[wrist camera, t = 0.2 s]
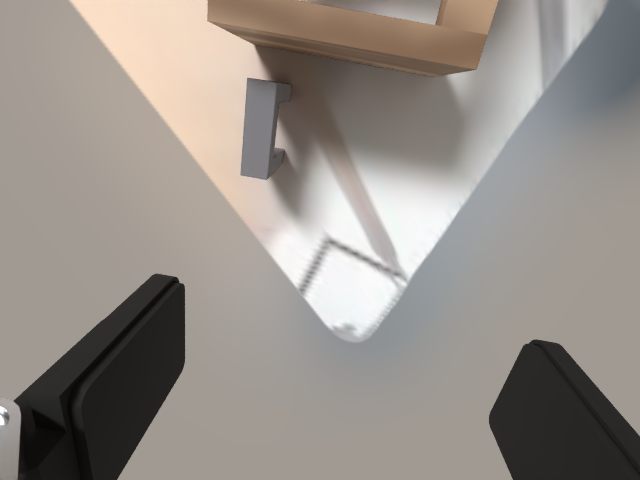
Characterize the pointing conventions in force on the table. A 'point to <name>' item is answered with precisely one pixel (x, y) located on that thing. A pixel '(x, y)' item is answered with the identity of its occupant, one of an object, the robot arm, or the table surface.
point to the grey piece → (262, 127)
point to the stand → (363, 33)
